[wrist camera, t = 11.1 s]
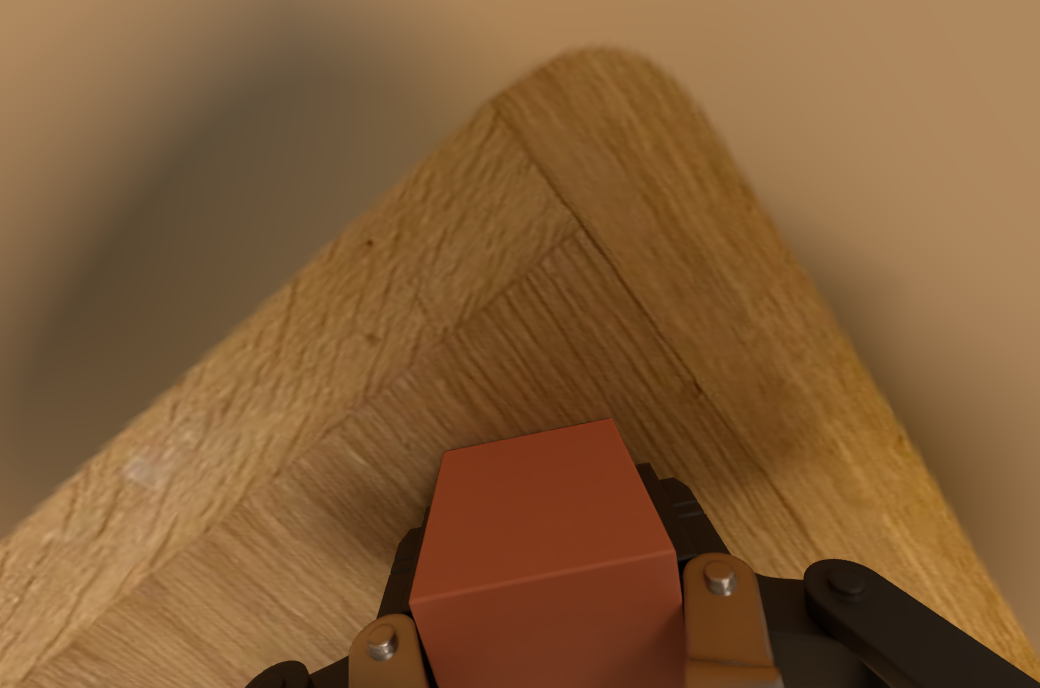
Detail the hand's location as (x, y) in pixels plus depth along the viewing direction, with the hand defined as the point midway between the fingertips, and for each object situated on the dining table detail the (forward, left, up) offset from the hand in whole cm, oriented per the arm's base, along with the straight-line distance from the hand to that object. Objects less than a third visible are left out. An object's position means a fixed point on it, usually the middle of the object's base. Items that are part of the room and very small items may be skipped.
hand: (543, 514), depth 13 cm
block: (0, 0, 0) cm, 0 cm away
